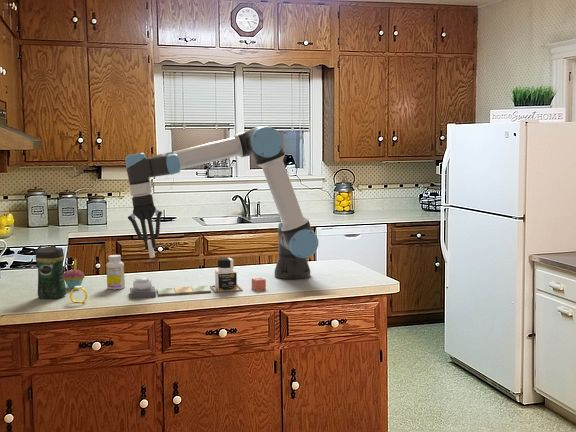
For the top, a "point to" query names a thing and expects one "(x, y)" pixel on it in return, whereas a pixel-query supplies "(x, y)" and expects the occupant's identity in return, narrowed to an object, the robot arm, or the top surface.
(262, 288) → the die
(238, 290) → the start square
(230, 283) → the medicine bottle
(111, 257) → the supplement bottle
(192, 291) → the track
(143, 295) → the popper base
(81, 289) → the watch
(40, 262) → the coffee jar
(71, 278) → the cupcake
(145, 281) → the dome
